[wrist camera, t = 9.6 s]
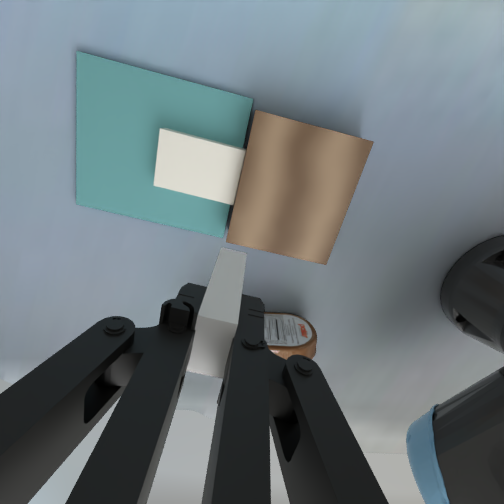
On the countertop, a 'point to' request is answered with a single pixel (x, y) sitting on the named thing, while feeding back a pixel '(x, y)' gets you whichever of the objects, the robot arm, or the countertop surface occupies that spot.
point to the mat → (147, 140)
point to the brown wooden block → (295, 187)
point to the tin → (289, 335)
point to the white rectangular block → (198, 166)
